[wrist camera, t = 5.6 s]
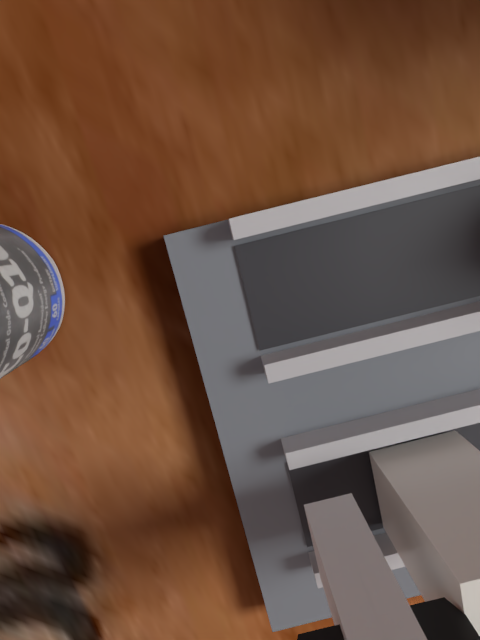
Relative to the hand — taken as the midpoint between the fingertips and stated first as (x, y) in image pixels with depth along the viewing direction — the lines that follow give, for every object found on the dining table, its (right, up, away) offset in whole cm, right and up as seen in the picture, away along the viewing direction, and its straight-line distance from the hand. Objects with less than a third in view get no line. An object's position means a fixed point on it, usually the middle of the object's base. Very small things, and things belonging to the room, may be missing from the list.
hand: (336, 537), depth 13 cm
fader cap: (+3, +1, +2) cm, 4 cm away
